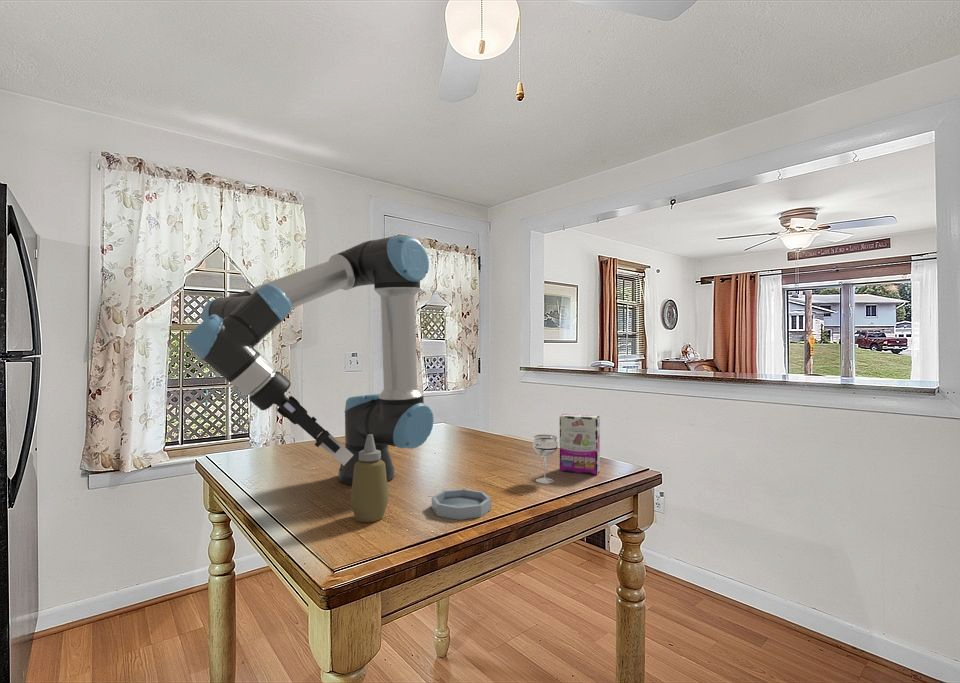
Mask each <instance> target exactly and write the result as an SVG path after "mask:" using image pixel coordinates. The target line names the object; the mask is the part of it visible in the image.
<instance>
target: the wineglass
mask: <svg viewBox="0 0 960 683" xmlns="http://www.w3.org/2000/svg"><path fill="white" fill-rule="evenodd" d="M532 438H533V439H534V440H533V442H532V447H533V450H534V451H535V452H536V453H537V454H538V455H540V456H541V457H542V458H543V473H544V474H543V475H544V476H543V477H540V478H536V479H535V481H536V482H537V483H539V484H552V483H554V482H555V480H554V479H552V478H549V477H547V460H548V458H549V456H551V455H553V454H554V453H555V452H556V451H557V450H558V448H559V447H558V445H559V444H558V441H557V439H558V436H557V435H553V434H535V435H533V436H532Z"/></svg>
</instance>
